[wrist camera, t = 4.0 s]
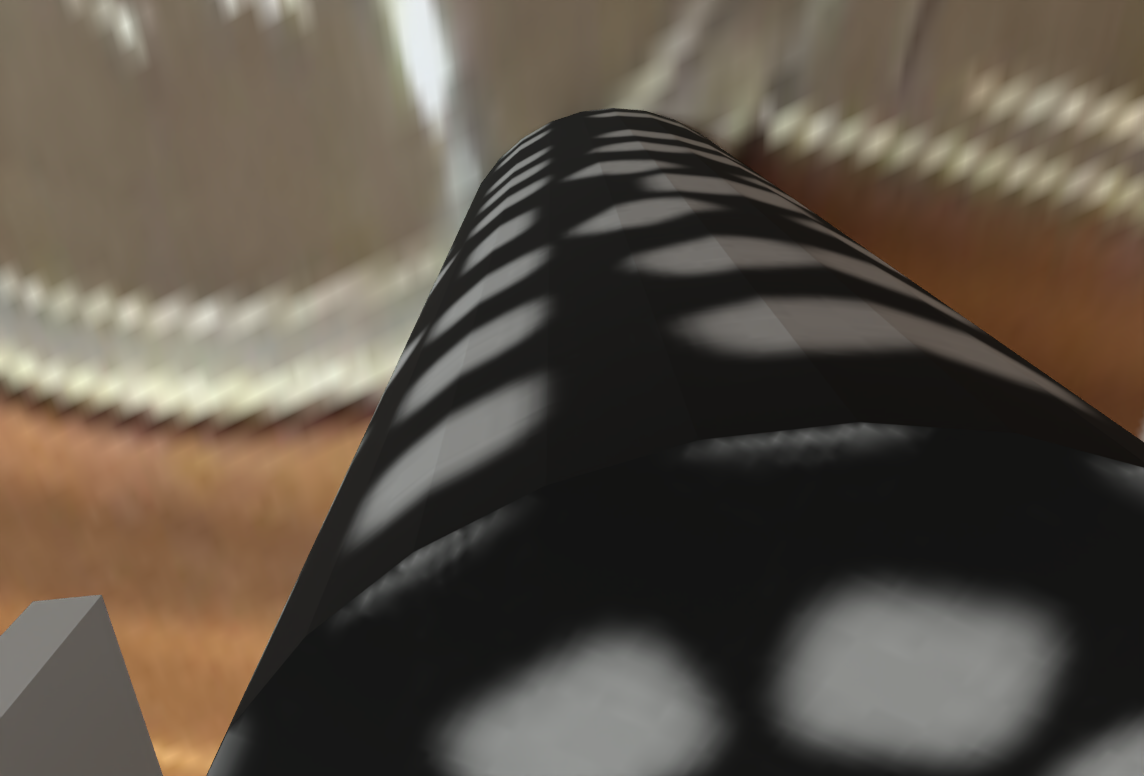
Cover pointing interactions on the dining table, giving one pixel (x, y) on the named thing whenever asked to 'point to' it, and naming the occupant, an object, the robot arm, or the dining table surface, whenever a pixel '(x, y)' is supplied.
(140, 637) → the dining table surface
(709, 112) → the dining table surface
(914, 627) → the spotted tube
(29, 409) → the dining table surface
